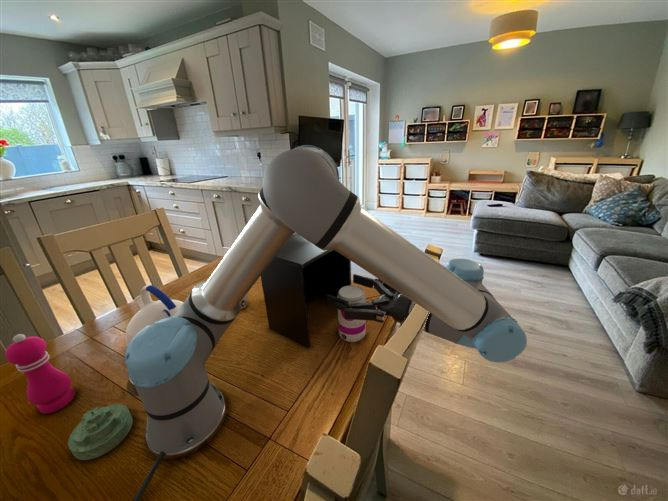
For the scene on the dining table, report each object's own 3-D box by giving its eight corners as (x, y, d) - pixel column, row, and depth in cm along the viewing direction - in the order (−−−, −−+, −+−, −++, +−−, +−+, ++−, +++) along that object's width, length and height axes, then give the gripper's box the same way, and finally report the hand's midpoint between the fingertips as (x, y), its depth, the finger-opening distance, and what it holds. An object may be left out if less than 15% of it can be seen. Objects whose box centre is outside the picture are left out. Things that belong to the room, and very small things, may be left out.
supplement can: (364, 344, 79) (364, 300, 73) (336, 341, 81) (334, 298, 75) (366, 326, 86) (367, 285, 81) (341, 324, 88) (339, 283, 82)
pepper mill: (74, 384, 70) (38, 320, 63) (81, 399, 66) (43, 332, 58) (35, 404, 65) (-10, 337, 57) (39, 422, 61) (-9, 352, 53)
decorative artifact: (60, 452, 55) (97, 466, 52) (44, 429, 52) (82, 442, 49) (110, 408, 64) (143, 417, 61) (98, 385, 61) (133, 395, 58)
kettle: (178, 310, 99) (164, 265, 92) (215, 327, 89) (203, 278, 82) (114, 345, 83) (91, 294, 76) (151, 371, 73) (128, 315, 66)
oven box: (354, 307, 96) (353, 235, 86) (310, 349, 78) (302, 264, 68) (316, 294, 105) (311, 227, 95) (269, 328, 87) (256, 250, 77)
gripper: (390, 354, 60) (315, 321, 72) (427, 300, 79) (362, 281, 90) (392, 326, 57) (313, 296, 69) (430, 277, 76) (362, 260, 87)
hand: (341, 288), depth 80 cm, fingers open, 13 cm apart
